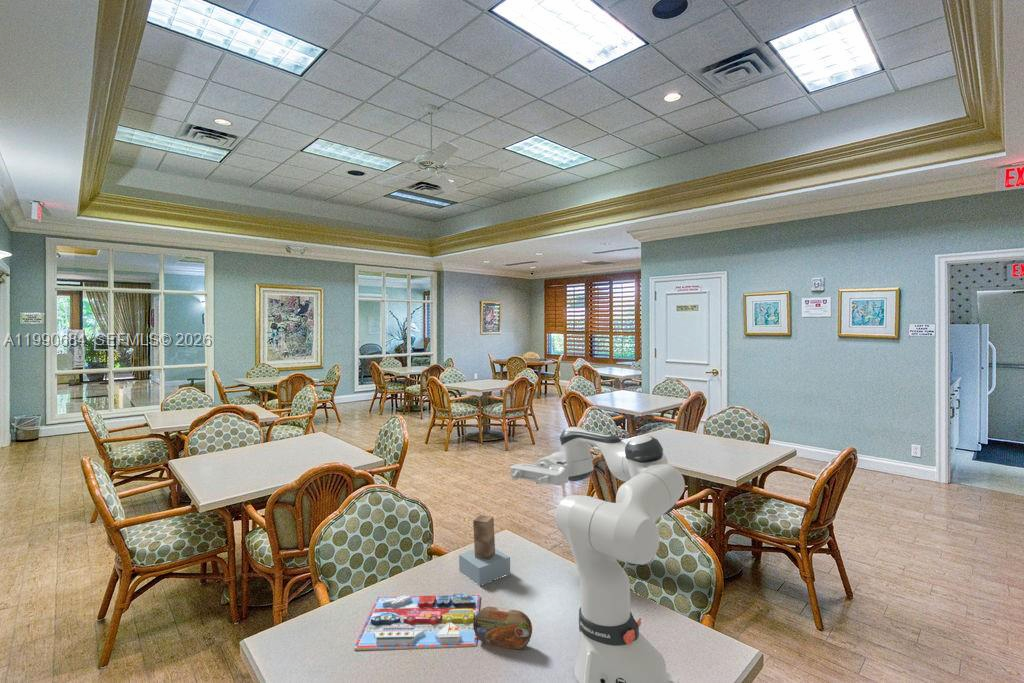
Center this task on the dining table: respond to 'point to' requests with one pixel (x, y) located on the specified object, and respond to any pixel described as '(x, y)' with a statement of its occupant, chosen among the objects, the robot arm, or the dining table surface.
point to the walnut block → (484, 537)
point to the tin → (503, 627)
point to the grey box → (484, 566)
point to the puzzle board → (420, 623)
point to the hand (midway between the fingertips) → (525, 479)
